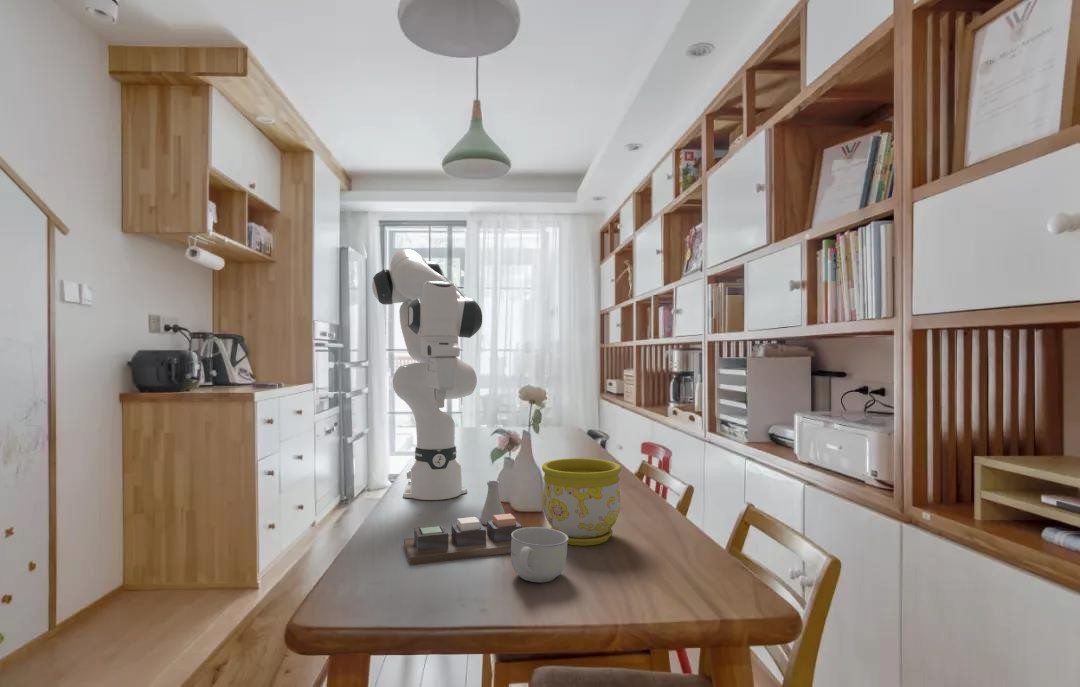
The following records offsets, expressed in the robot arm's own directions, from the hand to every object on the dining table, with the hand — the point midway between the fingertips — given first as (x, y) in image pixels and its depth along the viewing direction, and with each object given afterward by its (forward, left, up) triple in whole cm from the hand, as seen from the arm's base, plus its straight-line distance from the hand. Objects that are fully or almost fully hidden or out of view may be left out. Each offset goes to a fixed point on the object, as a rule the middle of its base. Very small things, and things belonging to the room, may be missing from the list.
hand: (439, 407), depth 138 cm
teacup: (+35, +12, -29) cm, 47 cm away
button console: (+14, +4, -29) cm, 32 cm away
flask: (-3, +14, -29) cm, 33 cm away
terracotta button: (+14, +12, -25) cm, 31 cm away
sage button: (+14, -4, -26) cm, 30 cm away
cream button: (+14, +4, -25) cm, 29 cm away
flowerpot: (+15, +30, -29) cm, 45 cm away
